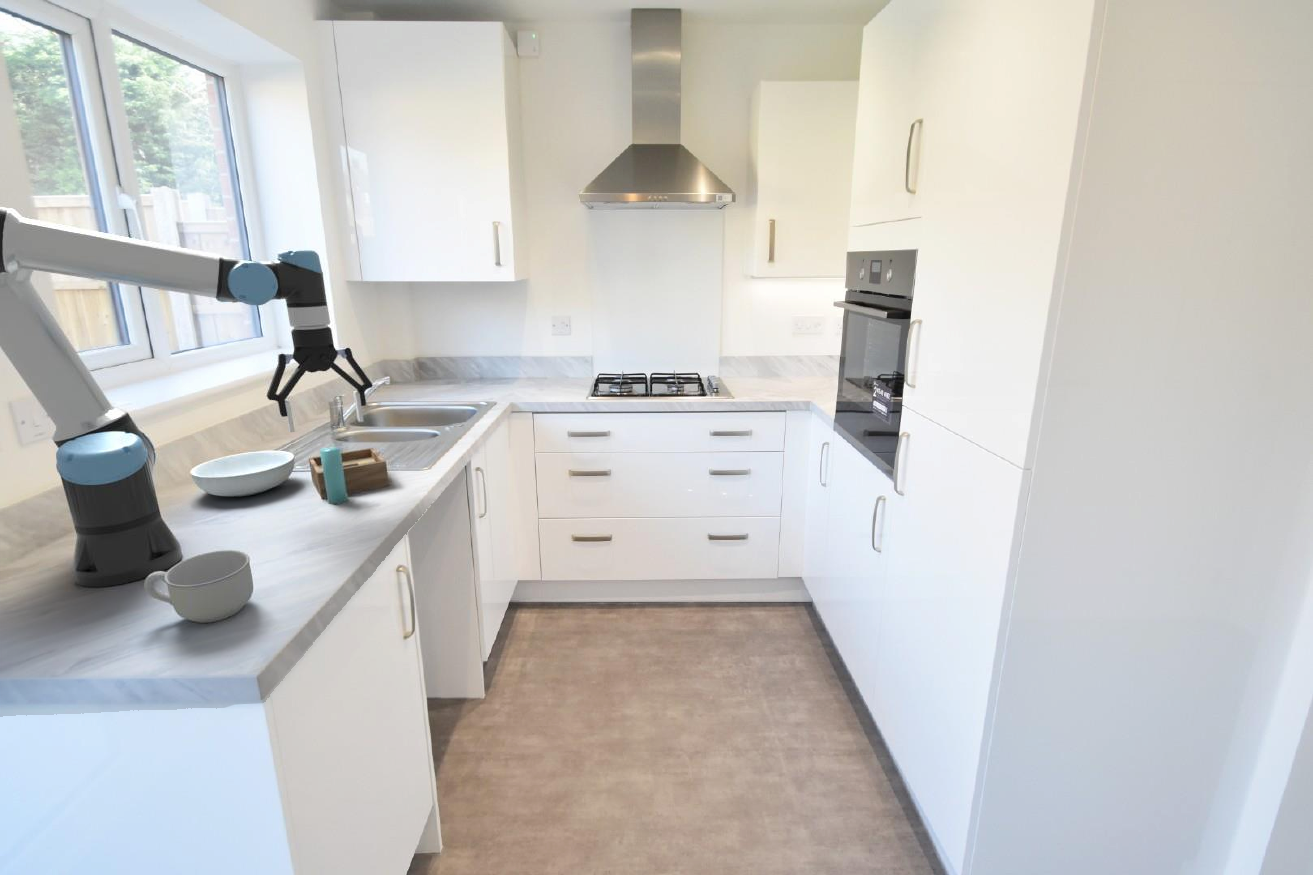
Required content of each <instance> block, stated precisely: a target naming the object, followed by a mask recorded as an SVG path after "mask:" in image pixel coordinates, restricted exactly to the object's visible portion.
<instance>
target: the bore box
mask: <svg viewBox="0 0 1313 875" xmlns="http://www.w3.org/2000/svg"><path fill="white" fill-rule="evenodd" d="M341 458H342V464H343V471H344V478H345V484H346V491H347V495H348V494H352V493H358V492H363V491H364V492H365V491H368V490H374V489H377V488H384V487H388V486H389V487H390V482H389V476H388V467H387V466H388V465H387V460H385V459H384V458H383V456H381V454H380V453H378V452H377V451H376V449H375V448H373V447H368V448H363V449H356V450H351V451H350V450H349V451H343V452H341ZM308 464H309V468H310V473H311V474H310V475H311V481H312V483H313V486H314V487H315V488H316V491H317V493H318V494H319V497H320V498H321V499H328V498H327V492H326V486H325V480H324V474H323V467H322V461H321V455H319V456H312V457H308Z"/></svg>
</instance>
